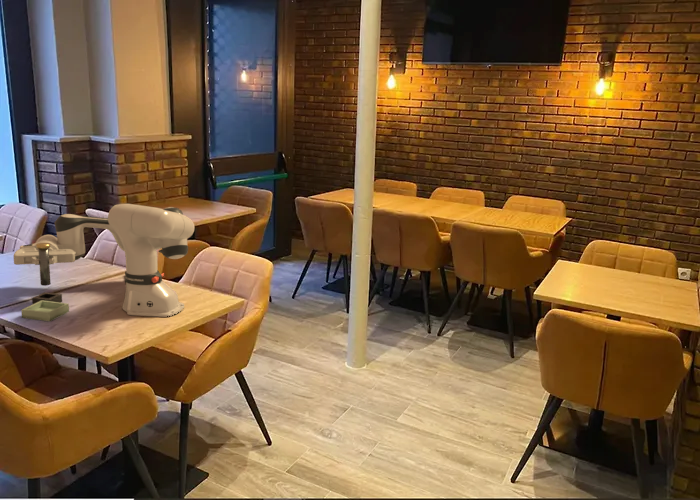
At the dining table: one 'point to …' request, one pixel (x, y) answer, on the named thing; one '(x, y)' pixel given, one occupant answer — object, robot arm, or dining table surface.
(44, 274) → the lock pin
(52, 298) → the pin collar
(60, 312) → the tray
